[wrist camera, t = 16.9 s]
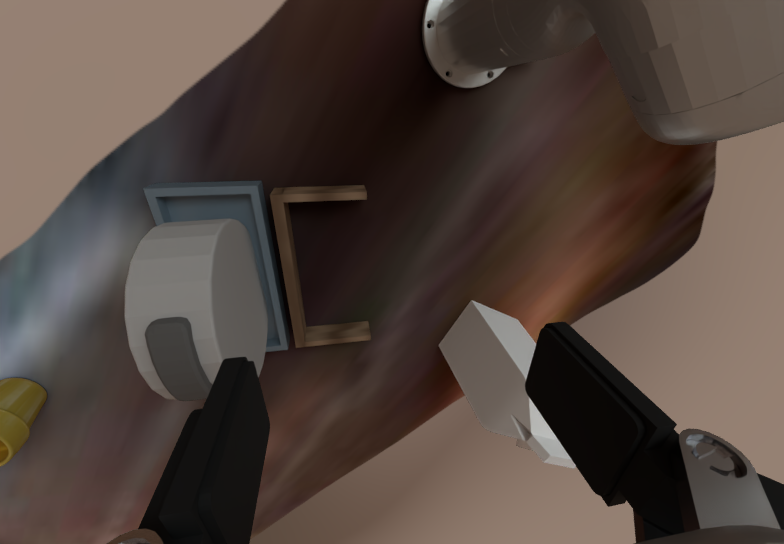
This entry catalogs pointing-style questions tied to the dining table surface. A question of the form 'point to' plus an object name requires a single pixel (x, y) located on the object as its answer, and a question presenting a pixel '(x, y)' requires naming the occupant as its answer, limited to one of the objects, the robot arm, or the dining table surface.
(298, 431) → the dining table surface
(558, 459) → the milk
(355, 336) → the walnut stall
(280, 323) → the slate tray
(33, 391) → the plant pot
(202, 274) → the alarm clock
